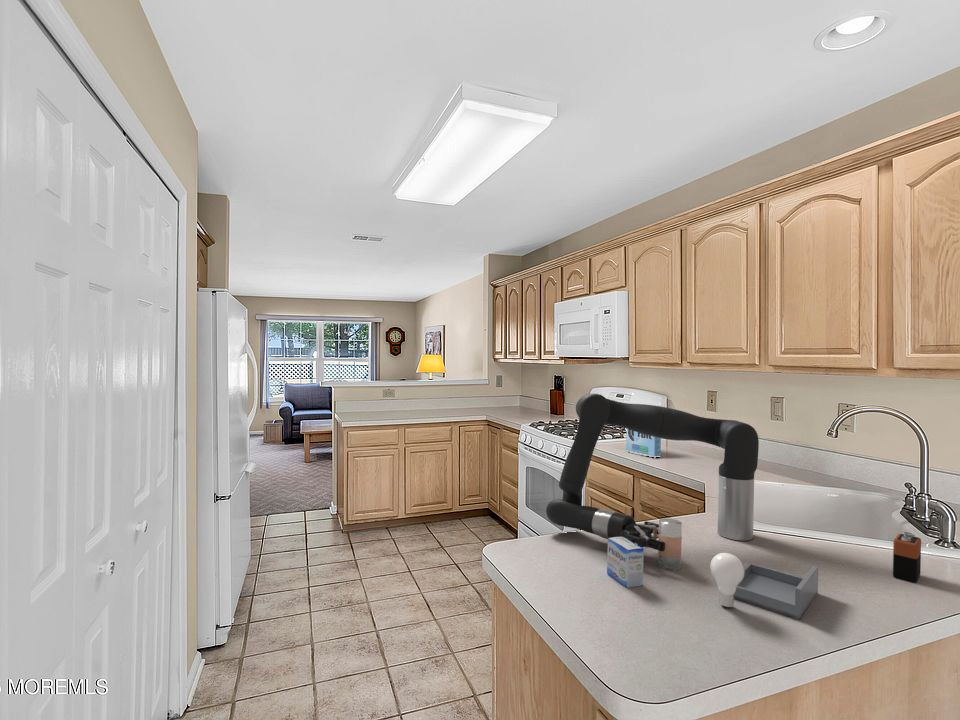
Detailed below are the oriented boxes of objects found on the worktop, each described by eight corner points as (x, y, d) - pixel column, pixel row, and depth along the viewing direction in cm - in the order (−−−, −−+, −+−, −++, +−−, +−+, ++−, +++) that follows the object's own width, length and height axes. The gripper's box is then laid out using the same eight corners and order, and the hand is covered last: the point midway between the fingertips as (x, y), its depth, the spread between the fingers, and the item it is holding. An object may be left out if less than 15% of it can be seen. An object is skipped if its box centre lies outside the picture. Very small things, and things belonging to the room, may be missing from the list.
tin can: (663, 559, 127) (664, 516, 127) (684, 566, 123) (685, 521, 123) (654, 565, 123) (655, 521, 123) (675, 572, 119) (676, 527, 119)
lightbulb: (751, 612, 101) (752, 558, 101) (725, 616, 99) (726, 561, 99) (727, 597, 107) (728, 546, 107) (702, 601, 105) (703, 549, 105)
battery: (920, 575, 120) (921, 534, 119) (916, 584, 115) (917, 540, 115) (897, 569, 123) (898, 529, 123) (892, 577, 118) (893, 535, 118)
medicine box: (606, 574, 118) (606, 537, 118) (621, 571, 120) (622, 535, 120) (627, 588, 111) (627, 550, 111) (643, 585, 112) (644, 547, 112)
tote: (748, 573, 120) (749, 548, 119) (817, 593, 110) (818, 566, 110) (724, 595, 108) (725, 567, 108) (799, 620, 98) (800, 589, 98)
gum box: (660, 458, 256) (661, 413, 256) (654, 458, 253) (654, 414, 253) (632, 451, 273) (632, 409, 273) (625, 452, 270) (626, 410, 270)
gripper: (599, 518, 129) (659, 534, 117) (626, 506, 139) (684, 520, 128) (598, 546, 129) (659, 566, 118) (626, 533, 139) (684, 549, 128)
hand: (672, 542), depth 123 cm, fingers open, 8 cm apart
